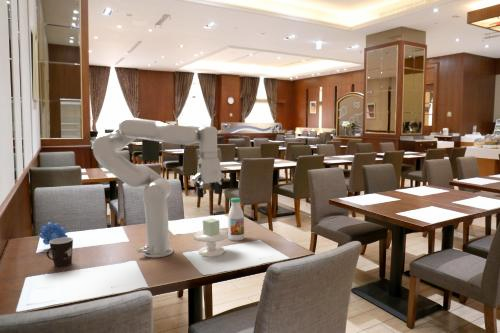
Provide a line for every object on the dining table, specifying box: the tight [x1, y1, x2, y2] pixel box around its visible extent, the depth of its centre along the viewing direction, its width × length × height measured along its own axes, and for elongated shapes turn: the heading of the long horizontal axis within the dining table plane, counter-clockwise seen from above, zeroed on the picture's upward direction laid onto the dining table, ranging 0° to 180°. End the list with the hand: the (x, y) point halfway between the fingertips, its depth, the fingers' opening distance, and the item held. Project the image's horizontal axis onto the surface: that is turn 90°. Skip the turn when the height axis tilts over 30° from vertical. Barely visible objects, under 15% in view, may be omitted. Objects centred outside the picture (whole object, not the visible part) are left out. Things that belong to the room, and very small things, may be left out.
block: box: [202, 218, 220, 236], centre depth 167 cm, size 5×5×6 cm
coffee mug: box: [46, 236, 74, 268], centre depth 156 cm, size 12×9×10 cm
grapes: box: [38, 222, 69, 246], centre depth 178 cm, size 12×7×12 cm, turn 120°
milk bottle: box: [227, 197, 245, 242], centre depth 186 cm, size 8×8×20 cm
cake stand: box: [193, 228, 229, 258], centre depth 168 cm, size 15×15×8 cm
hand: (209, 195), depth 165 cm, fingers open, 9 cm apart
